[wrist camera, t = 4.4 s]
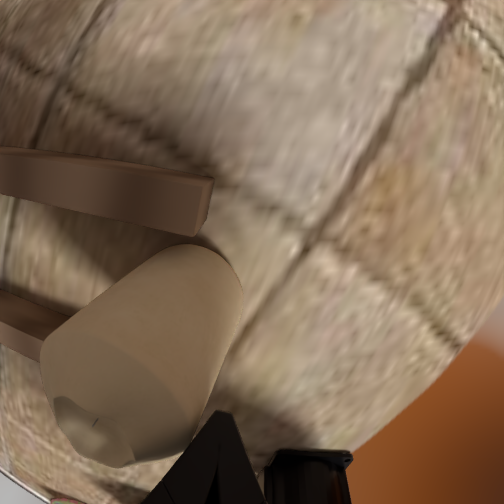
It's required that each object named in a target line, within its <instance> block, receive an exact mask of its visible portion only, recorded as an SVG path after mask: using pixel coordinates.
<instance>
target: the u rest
mask: <svg viewBox="0 0 504 504" xmlns="http://www.w3.org/2000/svg"><path fill="white" fill-rule="evenodd" d="M213 184H214V178H209V177H205V176H200V175H195V174H190V173H185V172H179V171H174V170H169V169H163V168H158V167H152V166H147V165H141V164H135V163H129V162H123V161H117V160H111V159H104V158H97V157H91V156H84V155H76V154H69V153H61V152H53V151H45V150H36V149H27V148H17V147H7V146H0V194H3V195H7V196H12V197H16V198H21V199H25V200H29V201H34V202H38V203H43V204H47V205H52V206H56V207H61V208H65V209H70V210H74V211H78V212H83V213H87V214H92V215H96V216H101V217H105V218H110V219H114V220H118V221H123V222H127V223H132V224H136V225H141V226H145V227H149V228H154V229H158V230H163V231H167V232H172V233H176V234H180V235H185V236H189V237H194V236H195V234H196V233H197V232H198V230H199V229H200V228H201V226H202V225H203V223H204V222H205V221H206V219H207V214H208V209H209V204H210V199H211V194H212V189H213ZM70 318H71V317H68V316H66V315H63V314H60V313H58V312H55V311H52V310H50V309H47V308H45V307H42V306H39V305H37V304H34V303H32V302H29V301H27V300H25V299H22V298H20V297H17V296H15V295H13V294H10V293H8V292H6V291H4V290H1V289H0V343H1V344H3V345H5V346H7V347H9V348H10V349H12V350H14V351H16V352H18V353H20V354H22V355H24V356H26V357H28V358H30V359H33V360H35V361H37V362H39V363H40V351H41V347H42V344H43V342H44V340H45V339H46V338H47V337H48V336H49V335H50V334H51V333H52V332H54V331H55V330H56V329H57V328H59V327H60V326H61V325H62V324H63V323H65V322H66V321H67V320H69V319H70Z"/></svg>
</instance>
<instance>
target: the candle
mask: <svg viewBox="0 0 504 504" xmlns="http://www.w3.org/2000/svg"><path fill="white" fill-rule="evenodd" d="M242 310H243V292H242V287H241V284H240V281H239V279H238V277H237V275H236V273H235V272H234V270H233V268H232V267H231V266H230V265H229V264H228V263H227V262H226V261H225V260H224V259H223V258H222V257H221V256H219V255H218V254H217V253H215V252H213V251H211V250H209V249H207V248H205V247H201V246H198V245H192V244H180V245H175V246H171V247H168V248H165V249H163V250H161V251H160V252H158V253H157V254H155V255H154V256H152V257H151V258H149V259H148V260H146V261H145V262H144V263H142V264H141V265H140V266H138V267H137V268H135V269H134V270H133V271H131V272H130V273H129V274H127V275H126V276H125V277H123V278H122V279H121V280H119V281H118V282H117V283H115V284H114V285H113V286H111V287H110V288H109V289H107V290H106V291H105V292H103V293H102V294H101V295H99V296H98V297H97V298H95V299H94V300H93V301H92V302H90V303H89V304H88V305H86V306H85V307H84V308H83V309H81V310H80V311H79V312H77V313H76V314H75V315H74V316H72V317H71V318H70V319H69V320H67V321H66V322H65V323H63V324H62V325H61V326H60V327H59V328H57V329H56V330H55V331H54V332H52V333H51V334H50V335H49V336H48V337H47V338H46V339H45V340H44V342H43V344H42V347H41V351H40V370H41V377H42V383H43V387H44V390H45V393H46V396H47V398H48V401H49V403H50V406H51V408H52V411H53V413H54V416H55V418H56V421H57V423H58V425H59V427H60V429H61V430H62V431H63V433H64V434H65V435H66V437H67V438H68V439H69V441H70V443H71V445H72V446H73V448H74V449H75V451H76V452H77V453H78V454H80V455H81V456H83V457H85V458H87V459H89V460H92V461H95V462H98V463H101V464H103V465H106V466H109V467H112V468H123V467H130V466H137V465H146V464H153V463H158V462H163V461H167V460H171V459H174V458H177V457H179V456H180V455H182V453H183V452H184V451H185V450H186V448H187V447H188V446H189V444H190V443H191V440H192V438H193V436H194V433H195V431H196V428H197V426H198V423H199V421H200V419H201V416H202V414H203V411H204V409H205V406H206V404H207V401H208V399H209V396H210V394H211V391H212V389H213V386H214V384H215V381H216V379H217V376H218V374H219V371H220V369H221V366H222V364H223V361H224V359H225V356H226V354H227V351H228V349H229V346H230V344H231V341H232V338H233V336H234V333H235V331H236V328H237V326H238V323H239V320H240V317H241V314H242Z"/></svg>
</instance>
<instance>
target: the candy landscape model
mask: <svg viewBox="0 0 504 504" xmlns="http://www.w3.org/2000/svg"><path fill="white" fill-rule="evenodd" d="M51 504H85V503H82V502H78V501H75V500H69V499H66V498H62V499H59V498H56V499H52V500H51Z"/></svg>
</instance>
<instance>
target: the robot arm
mask: <svg viewBox="0 0 504 504" xmlns="http://www.w3.org/2000/svg"><path fill="white" fill-rule="evenodd" d="M352 461H353V455H352V454H343V453H318V452H303V451H291V450H278V451H276V452H275V454H274V456H273V458H272V459H271V461H270V463H269V465H268V466H266V467H264V468H263V470H262V472H261V474H260V476H259V477H258V479H257V477H256V474H255V472H254V469H253V467H252V464H251V462H250V459H249V457H248V454H247V452H246V449H245V446H244V444H243V441H242V438H241V436H240V433H239V430H238V427H237V425H236V422H235V419H234V416H233V414H232V413H231V412H226V411H222V410H216V411H215V412H214V413H213V414H212V416H211V417H210V418H209V420H208V421H207V422H206V424H205V425H204V426H203V427H202V429H201V430H200V431H199V433H198V434H197V435H196V437H195V438H194V439H193V441H192V442H191V443H190V444H189V446H188V447H187V448H186V450H185V451H184V452H183V453H182V455H181V456H180V457H179V458H178V460H177V461H176V462H175V463H174V465H173V466H172V467H171V468H170V470H169V471H168V472H167V473H166V475H165V476H164V477H163V478H162V480H161V481H160V482H159V483H158V484H157V485H156V487H155V488H154V489H153V490H152V491H151V492H150V493H149V495H148V496H147V497H146V498H145V499H144V500H143V501H142V502H141V503H140V504H352V503H351V498H350V492H349V487H348V482H347V477H346V471H345V469H346V468H347V467H348V466H349V464H350V463H351V462H352Z"/></svg>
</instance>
